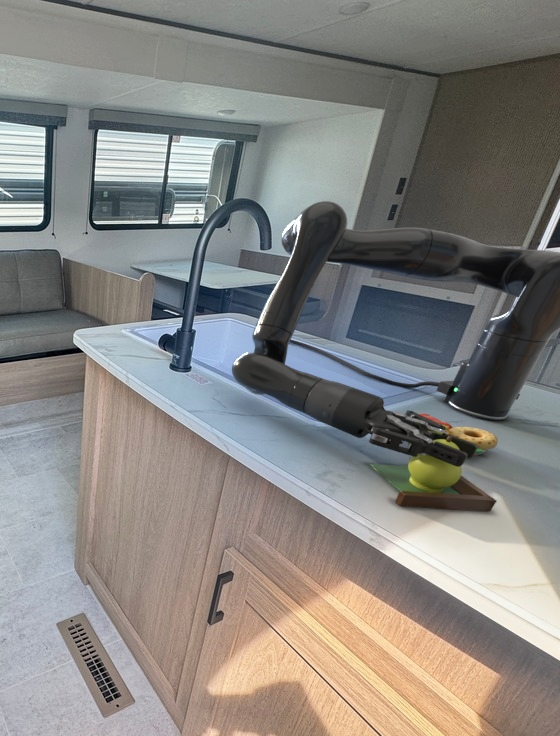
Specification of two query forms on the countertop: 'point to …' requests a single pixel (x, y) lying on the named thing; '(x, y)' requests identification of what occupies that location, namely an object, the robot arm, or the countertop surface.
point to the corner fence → (446, 499)
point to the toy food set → (470, 435)
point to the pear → (433, 471)
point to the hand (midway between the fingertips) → (468, 456)
